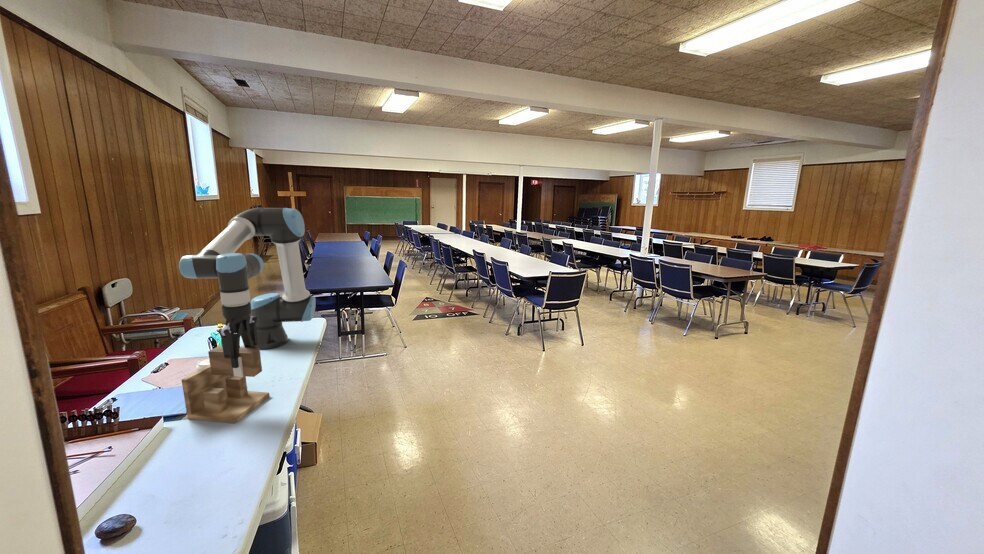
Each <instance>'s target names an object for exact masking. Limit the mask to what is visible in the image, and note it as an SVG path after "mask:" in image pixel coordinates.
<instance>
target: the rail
mask: <svg viewBox="0 0 984 554" xmlns="http://www.w3.org/2000/svg"><path fill="white" fill-rule="evenodd" d="M207 354H208V357H209V360H210V367H211V374H212V375H227V376H234V372H233V368H232V365H231V359H227V358H224V353H223V347H222V346H216V347H214V348H212V349H210V350H209V351H208V353H207ZM239 357H241V358H242V366H243V374H244V376H246V377H251V378H252V377H253V378H255V377H256V376H257V375H259V374H261V372H263V367H262V360H261V349H260V348H245V347H239Z"/></svg>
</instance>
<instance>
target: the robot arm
mask: <svg viewBox="0 0 984 554" xmlns="http://www.w3.org/2000/svg"><path fill="white" fill-rule="evenodd" d="M305 225H306V224H305V220H304V218H303V215H302V214H301V212H300V211H299V210H298V209H296V208H288V207H253V208H250V209H247V210H244V211H242V212H240V213H238V214H237V215H234V216H233V217H232V218H231V219H230V220H229V221H228V222H227V227H225V229H224V230H222V231H221V232H220V233H219V234H218V235H217V236H216V237H215V238H214V239H212V241H211V242H209V243H208V244H207V245H206V246H205V247H204V248H203V249H202V250H200V251H199V253H197V254H191V255H190V254H189V255H183V256H182V257H181V258H180V260H179V263H178V269H179V271H180V274H181V276H182V277H184V278H187V279H197V280H199V279H218V280H217V281H218V286H219V295H220V301H221V302H220V303H221V305H222V306H221V312H222V313H221V314H222V317H223V318H224V319H225V324H224V325H225V326H224V327H223V328H219V329H218V331H217V332H218V334H219V336H220V339H221V347H223V353H224V358H227V359H231V365H232V368H233V372H234V376H238V377H242V376H244V374H243V366H242V358H241V357H239V348H240V345H241V344H240V343H241V342H240V341H241V340H242V343H243V348H260V350H268V349H269V350H270V349H275V348H279V347H281V346H283V345H286V344H287V343H288V341H289V338H288V335H287V332H286V331H285V329H284V326H283V323H287V322H289V323H290V322H294V323H295V322H301V323H302V322H309V321H312V319H313V317H314V316H315V313H316V301H317V299H316V297H315V296H313V295H311V292H310V291H309V290H308V289H306V284H305V276H304V271H303V263H302V258H301V252H300V246H299V242H300V241H301V240H302V237H303V236H304V235H305V232H306V229H305ZM262 236H263V237H269V238H270V241H271V243H273V245H275V246H276V252H277V256H278V257H277V258H278V263H279V267H280V273H281V279H282V284H283V290H284V293H283V294H282V295H280V293H276V292H270V293H265V294H260V295H257V296H256V297H253V298H252V299H251V293H250V287H249V280H250V279H251V278H254V277H255V276H258V275H259V274H260V273H261V272H262V271H263V270H264V266H265V265H264V260H263V258H262V257H260V256H259V255H258V254H256V253H242V252H241V253H239V252H237V250H239V248H240V247H242V245H243V244H244V243H245V242H246V241H248V240H250V239H252V238H253V237H262Z"/></svg>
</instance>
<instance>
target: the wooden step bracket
mask: <svg viewBox="0 0 984 554" xmlns="http://www.w3.org/2000/svg"><path fill="white" fill-rule="evenodd" d="M246 377H247V376H242V377H238V376H227V375H212V374H211V367H210V365H208V366H206V367H204V368H202V369H200V370H199V371H197V370H196V371H195V372H193V373H192V374H191V373H190V374H189V375H187V376H186V377H184V378H182V379H181V386H182V391H183V397H184V403H185V410H186V416H187V420H188V419H189V420H196V421H197V420H199V421H207V422H219V423H228V424H229V423H230V424H236V423H237V422H238V421H240V420H241V419H242V418H244V417H245V416H247V415H248V414H249V413H250V412H251V411H253V410H254V409H255V408H257V407H258V406H259V405H261V404H262V403H264V401H266V400H267V399H268V398H270V392H268V391H267V392H265V391H258V390H257V391H255V390H248V385H247V378H246Z"/></svg>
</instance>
